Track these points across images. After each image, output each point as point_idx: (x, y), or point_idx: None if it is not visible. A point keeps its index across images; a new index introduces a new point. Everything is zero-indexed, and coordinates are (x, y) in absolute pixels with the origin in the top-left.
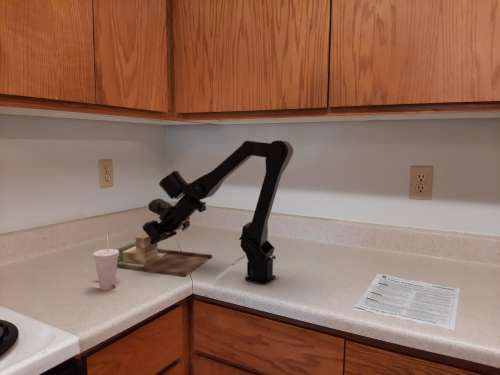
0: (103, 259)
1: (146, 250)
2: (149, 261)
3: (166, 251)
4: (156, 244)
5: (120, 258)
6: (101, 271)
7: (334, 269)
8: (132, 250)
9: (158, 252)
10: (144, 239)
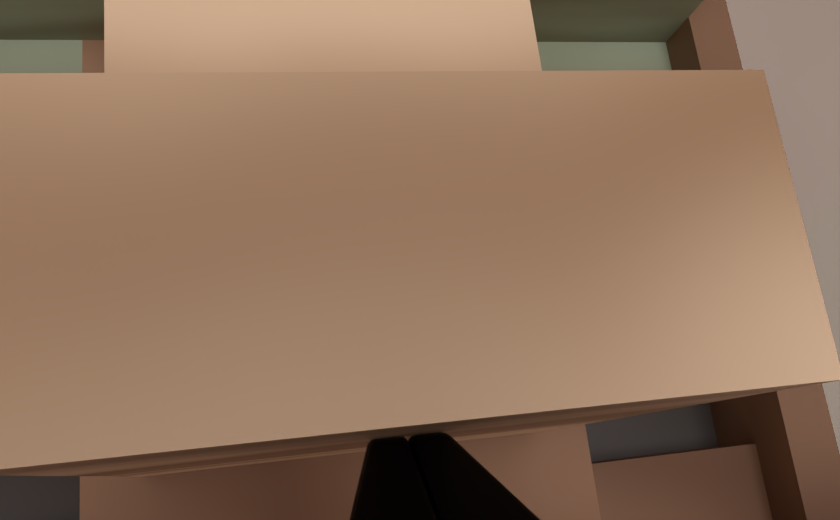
0: None
1: (182, 466)
2: (292, 459)
3: (773, 433)
4: (612, 416)
5: (90, 9)
6: None
7: None
8: (255, 67)
9: None
10: (8, 469)
